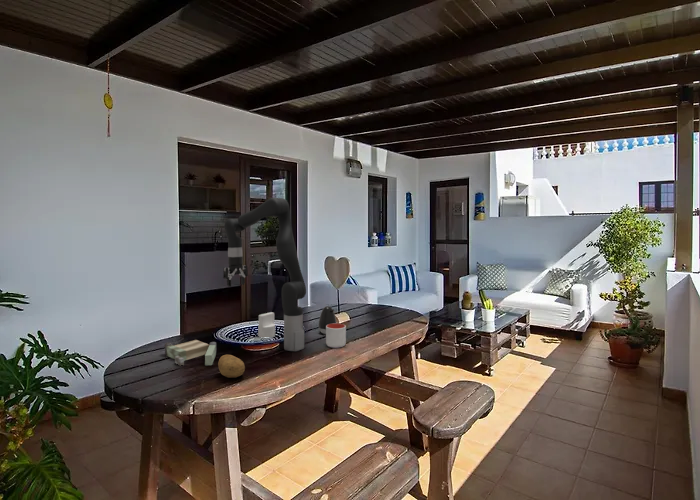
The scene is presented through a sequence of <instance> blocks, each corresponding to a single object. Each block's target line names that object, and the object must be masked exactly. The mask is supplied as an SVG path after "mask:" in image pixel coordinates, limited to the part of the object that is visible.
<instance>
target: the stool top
mask: <svg viewBox="0 0 700 500" xmlns="http://www.w3.org/2000/svg"><path fill="white" fill-rule="evenodd" d="M209 345H210V343H209V344H208V343H206V342H203V341H200V340H198V339H194V340H190V341H185V342H182V343H178V344H174V345H173V344H172V342H165V343H164V355H165V356H166V357H169V358H171V359H174V364H175V363H176V365H177V364H178V366H180V367H182V366H181V365H183V366H185V361H188V360H191V359H194V358H195V359H196V358H198V357H202V356H205V354H206V352H207V350H208V348H209Z"/></svg>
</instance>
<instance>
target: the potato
mask: <svg viewBox="0 0 700 500" xmlns="http://www.w3.org/2000/svg"><path fill="white" fill-rule="evenodd" d="M217 366H218V367H217V368H218V370H219V373H220V374H221V375H222V376H224V377H225V378H228V379H229V378H234V379H235V378H236V379H237V378H239V377H240V376H242V375H243V374H244V372H245V369H246V366H245V363H244V361H243V360H242V359H240V358H238V357H236V356H234V355H232V354H224V355H223V354H222V356H220V358H219V360H218V362H217Z"/></svg>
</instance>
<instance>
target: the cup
mask: <svg viewBox="0 0 700 500" xmlns="http://www.w3.org/2000/svg"><path fill="white" fill-rule="evenodd" d="M346 340H347V325H345V324H343V323H337V322H336V323H333V324H328V325H326V334H325V344H326V346H327V347H329V348H333V349H334V348H336V349H337V348H338V349H339V348H342V347H344V346H345V345H346V342H347V341H346Z"/></svg>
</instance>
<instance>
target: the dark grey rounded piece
mask: <svg viewBox="0 0 700 500" xmlns="http://www.w3.org/2000/svg"><path fill="white" fill-rule="evenodd" d="M333 323H337V319H336V314H335V310H334V308H332V306H329V305H327V306H324V307H323V308H322V309H321V312H320V315H319V319H318V329H319V331H320V332H321V334H324V335H326V325H328V324H333Z"/></svg>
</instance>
